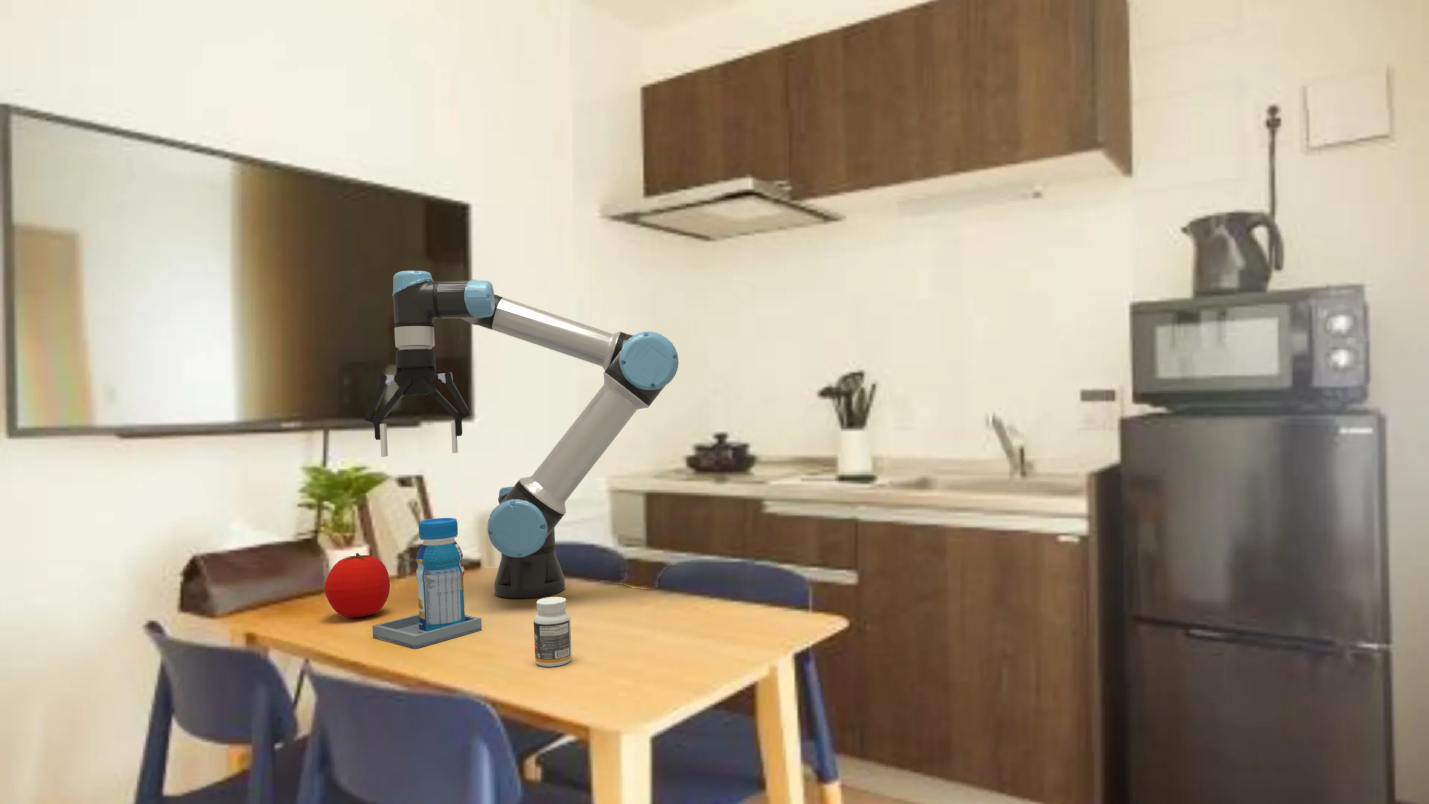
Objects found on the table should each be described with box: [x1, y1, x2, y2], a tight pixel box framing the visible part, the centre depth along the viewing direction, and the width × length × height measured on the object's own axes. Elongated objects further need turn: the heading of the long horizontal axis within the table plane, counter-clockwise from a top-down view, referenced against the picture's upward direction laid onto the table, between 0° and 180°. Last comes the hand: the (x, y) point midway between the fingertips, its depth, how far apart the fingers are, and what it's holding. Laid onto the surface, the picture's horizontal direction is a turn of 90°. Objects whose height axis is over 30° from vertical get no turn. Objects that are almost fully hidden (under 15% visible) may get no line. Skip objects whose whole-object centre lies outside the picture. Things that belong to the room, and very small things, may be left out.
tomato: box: [324, 552, 391, 619], centre depth 174 cm, size 12×12×13 cm
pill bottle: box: [533, 596, 572, 668], centre depth 139 cm, size 6×6×10 cm
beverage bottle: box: [415, 517, 466, 633], centre depth 159 cm, size 8×8×20 cm
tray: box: [372, 613, 483, 650], centre depth 159 cm, size 14×14×2 cm
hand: (420, 454), depth 176 cm, fingers open, 13 cm apart
